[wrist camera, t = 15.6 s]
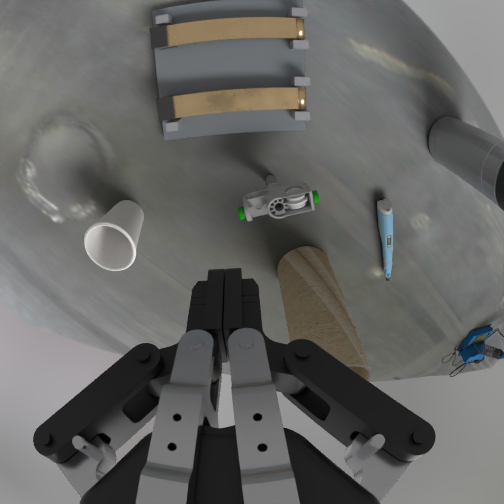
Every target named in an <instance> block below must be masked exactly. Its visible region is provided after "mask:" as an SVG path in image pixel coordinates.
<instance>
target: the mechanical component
mask: <svg viewBox="0 0 504 504" xmlns="http://www.w3.org/2000/svg"><path fill="white" fill-rule="evenodd" d="M266 184H267V187H266V189H264V190H259V191H255V192H251V193H248V194H246V195H244V196H243V206H244V208H243V207H240V208H238V212H239V216H240V219H241V220H243V219H246V218H247V221H253V219H252V218H253V217H257V216H261V215H266V214H270V216H272V217H273V218H276V219H281V218H284V217H286V216H290V215H295V214H299V213H304V212H308V211H313V210H315V209H314V203H318V202H319V196H318V193H317V191H316V190H315V191H311V189H310V187H309V186H307V184H306V183H304V182H295V183H290V184H286V185H280V184H278V183H277V181H276V179H275V177H274V175H268V176H267V177H266ZM303 206H304V207H303ZM301 207H303V208H302V209H299V210H291V209H298V208H301ZM289 208H291V209H289Z"/></svg>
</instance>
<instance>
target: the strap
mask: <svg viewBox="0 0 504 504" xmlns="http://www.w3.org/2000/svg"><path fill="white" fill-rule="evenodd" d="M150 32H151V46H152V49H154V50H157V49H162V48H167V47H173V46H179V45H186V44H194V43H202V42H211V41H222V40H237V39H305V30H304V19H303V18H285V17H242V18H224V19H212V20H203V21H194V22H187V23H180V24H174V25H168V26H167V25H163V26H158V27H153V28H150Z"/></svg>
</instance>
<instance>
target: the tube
mask: <svg viewBox="0 0 504 504" xmlns="http://www.w3.org/2000/svg"><path fill="white" fill-rule="evenodd" d="M277 272H278V278H279V283H280V288H281V293H282V299H283V304H284V309H285V315H286V320H287V326H288V331H289V337H290V342H291V341H293V340H296V339H307V340H310V341H313V342H314V343H316V344H317V345H318V346H320V347H321V348H322V349H324V350H325V351H326V352H328V353H329V354H331V355H332V356H333V357H335V358H336V359H337V360H339V361H340V362H342V363H343V364H344V365H346V366H347V367H348V368H350V369H351V370H353V371H354V372H355V373H357V374H358V375H360V376H361V377H362V378H364V379H365V380H367V381H369V380H370V378H371V375H372V372H371V369H370V366H369V363H368V360H367V357H366V355H365V352H364V349H363V346H362V343H361V341H360V338H359V335H358V333H357V330H356V327H355V325H354V322H353V319H352V317H351V314H350V312H349V309H348V306H347V304H346V301H345V299H344V296H343V294H342V291H341V289H340V286H339V284H338V281H337V279H336V277H335V274H334V272H333V269H332V267H331V265H330V262H329V260H328V258H327V256H326V254H325V253H324V252H323V251H322V250H320V249H318V248H316V247H311V246H303V247H298V248H295V249H293V250H291V251H289V252H288V253H287V254H285V255H284V256H283V257H282V259H281V260H280V262H279V264H278V269H277Z"/></svg>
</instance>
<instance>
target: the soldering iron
mask: <svg viewBox="0 0 504 504" xmlns="http://www.w3.org/2000/svg"><path fill="white" fill-rule="evenodd" d="M492 331H493V328H491V327H485V328H482V329H478V330H474V331H471V332H470V333H469V335H468V336H467V337H466V339H465V340H464V342H463V343H462V344H461V346H460V347H459V348H458V349H455V350H457V351H459V353H460V354H459V355H460V356H462V358H463V360H464V362H465V364H463V365H466V363H472V362H470V361H473V360H474V361H473V362H474V363H476V364H477V363H480V362H482V360H483V359H484V356H488V357H490V356H491V355H490V353H491V354H492V356H491V357H493V358H496V359H502V358H504V352H503V351H502V350H501V349H497V348H495V349H496V350H495V349H494V347H493V349H494V351H493V350H492V349H491V348H492V347H491V346H489V347H490V349H489V347H488V345H486V349H485V343H484V342H485V341H486V339H487V338H489V337H490V336H491V335H492V334H493V333H495V332H496V331H497V330H496V331H495V332H493V333H492V334H491V332H492ZM498 332H499V329H498ZM499 333H500V332H499ZM490 334H491V335H490ZM500 334H501V333H500ZM489 335H490V336H489ZM501 335H502V334H501ZM502 336H503V335H502ZM503 337H504V336H503ZM487 347H488V349H487ZM455 350H454V351H455ZM491 350H492V351H491ZM486 353H487V354H488V353H489V355H487V354H486ZM452 354H453V353H452ZM454 354H455V357H456V351H455V353H454ZM454 354H453V355H454ZM449 355H450V354H449ZM459 355H458V356H459ZM447 356H448V355H447ZM445 357H446V356H445ZM452 357H453V356H452ZM452 357H451V358H452ZM451 358H450V359H451ZM454 360H455V359H454ZM447 362H448V361H447ZM460 362H461V361H460ZM460 362H459V363H460ZM442 363H444V362H443V359H442ZM445 363H446V362H445ZM453 363H454V362H453ZM456 365H457V364H456ZM463 365H461V366H463ZM452 366H453V364H452ZM454 366H455V365H454ZM461 366H460V367H461ZM460 367H458V368H460ZM464 367H465V366H464ZM458 368H457V369H458ZM457 369H455V370H457ZM455 370H454V371H455ZM462 370H463V369H462ZM462 370H461V371H462ZM454 371H453V372H454ZM461 371H460V372H461ZM453 372H452V373H453ZM452 373H451V374H452ZM451 374H450V377H453V376H451ZM457 374H458V373H457ZM457 374H456V375H457ZM454 376H455V375H454Z"/></svg>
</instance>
